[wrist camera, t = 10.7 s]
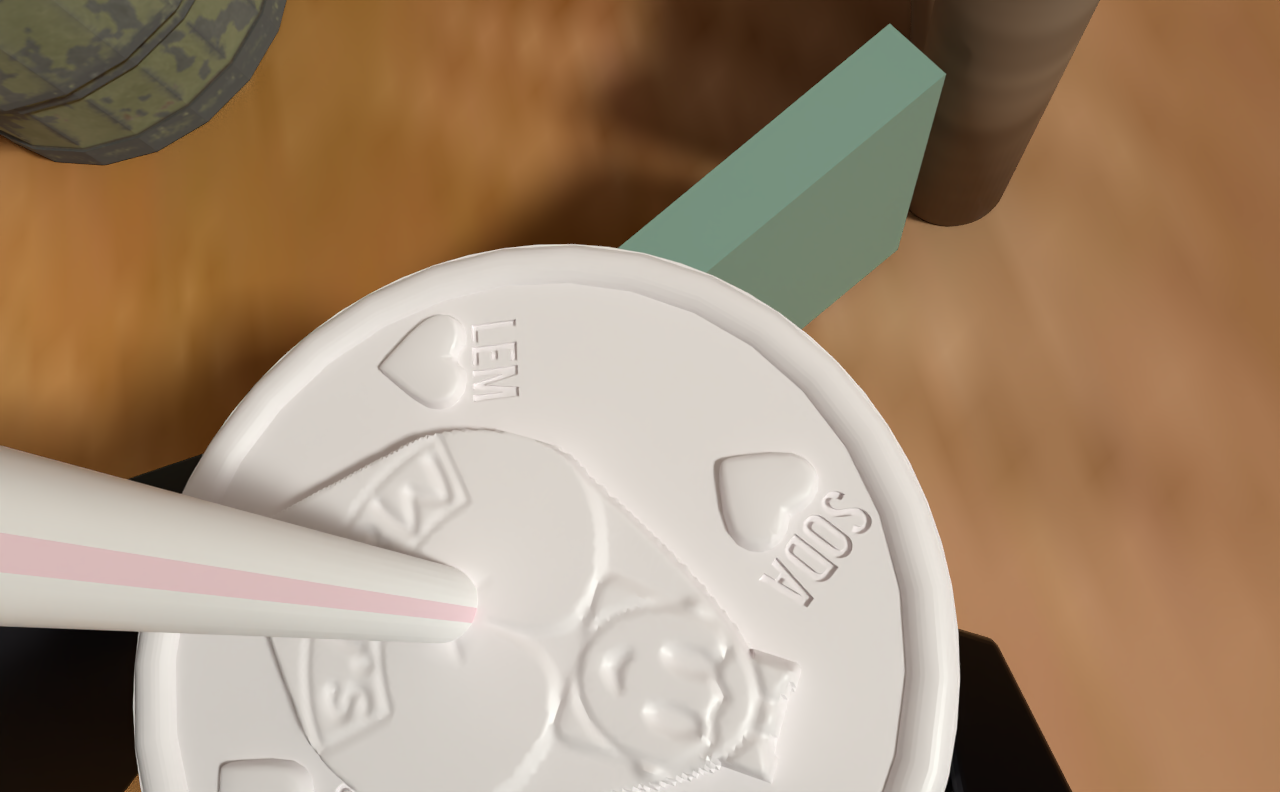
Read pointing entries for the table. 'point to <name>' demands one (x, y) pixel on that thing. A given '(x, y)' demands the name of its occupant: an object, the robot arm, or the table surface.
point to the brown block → (987, 94)
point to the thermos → (123, 71)
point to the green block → (812, 186)
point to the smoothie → (520, 553)
